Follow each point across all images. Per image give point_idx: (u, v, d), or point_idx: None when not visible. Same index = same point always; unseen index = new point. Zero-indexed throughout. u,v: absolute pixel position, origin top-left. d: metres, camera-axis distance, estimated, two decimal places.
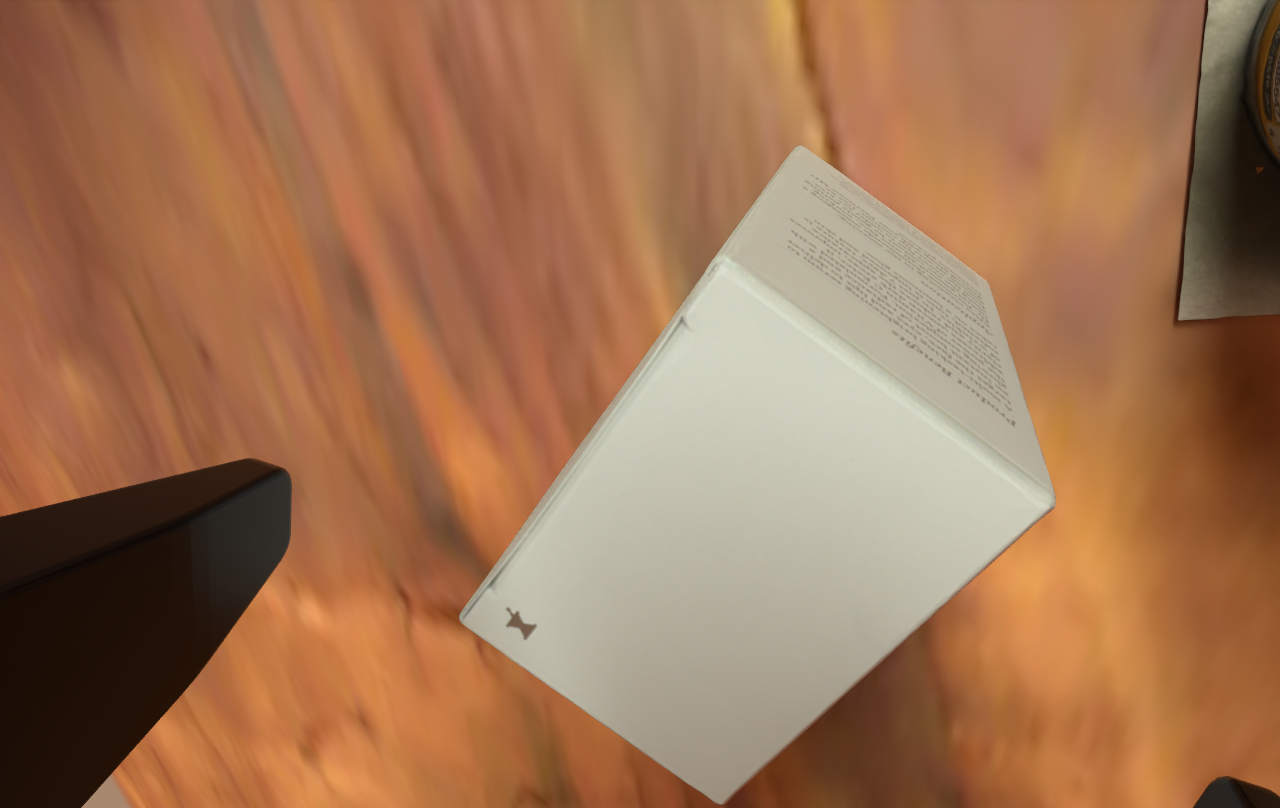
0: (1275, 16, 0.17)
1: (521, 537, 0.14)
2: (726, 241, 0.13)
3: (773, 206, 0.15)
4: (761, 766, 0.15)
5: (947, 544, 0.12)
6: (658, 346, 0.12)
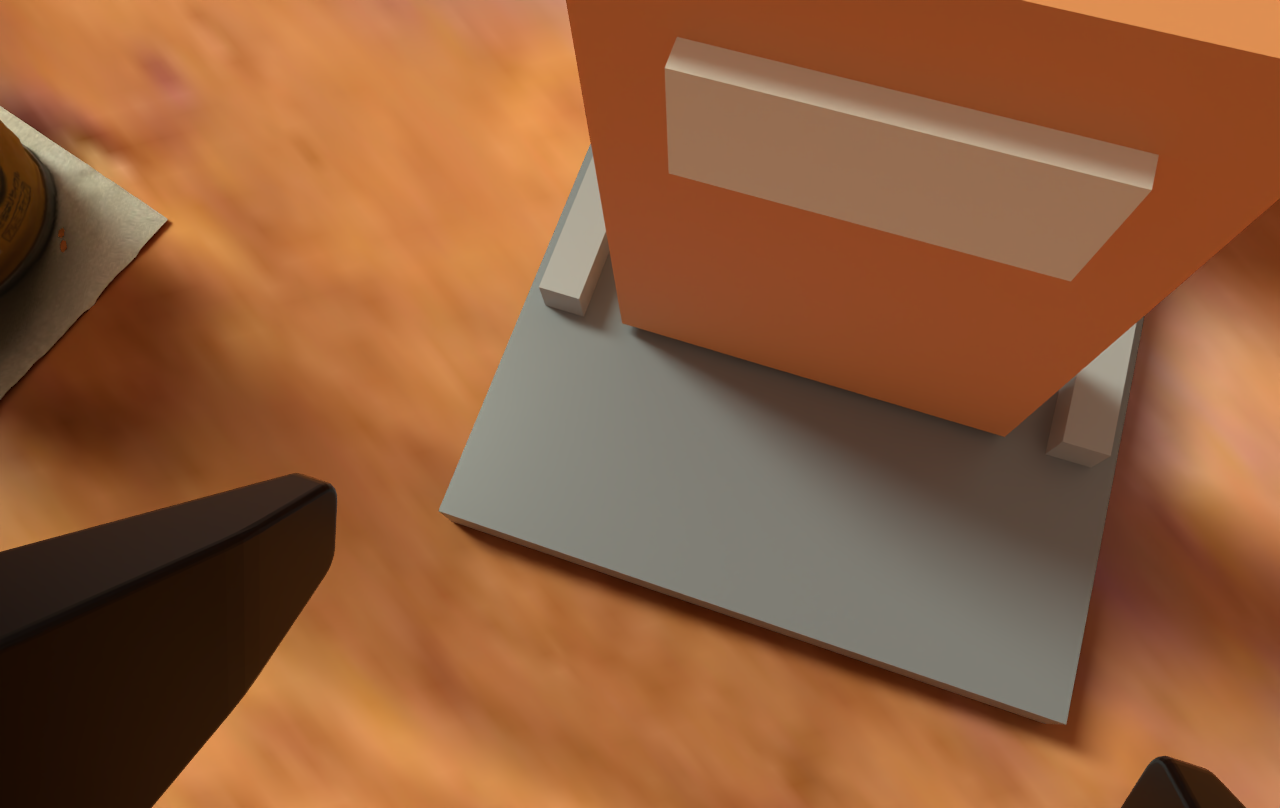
0: None
1: None
2: None
3: None
4: None
5: None
6: None
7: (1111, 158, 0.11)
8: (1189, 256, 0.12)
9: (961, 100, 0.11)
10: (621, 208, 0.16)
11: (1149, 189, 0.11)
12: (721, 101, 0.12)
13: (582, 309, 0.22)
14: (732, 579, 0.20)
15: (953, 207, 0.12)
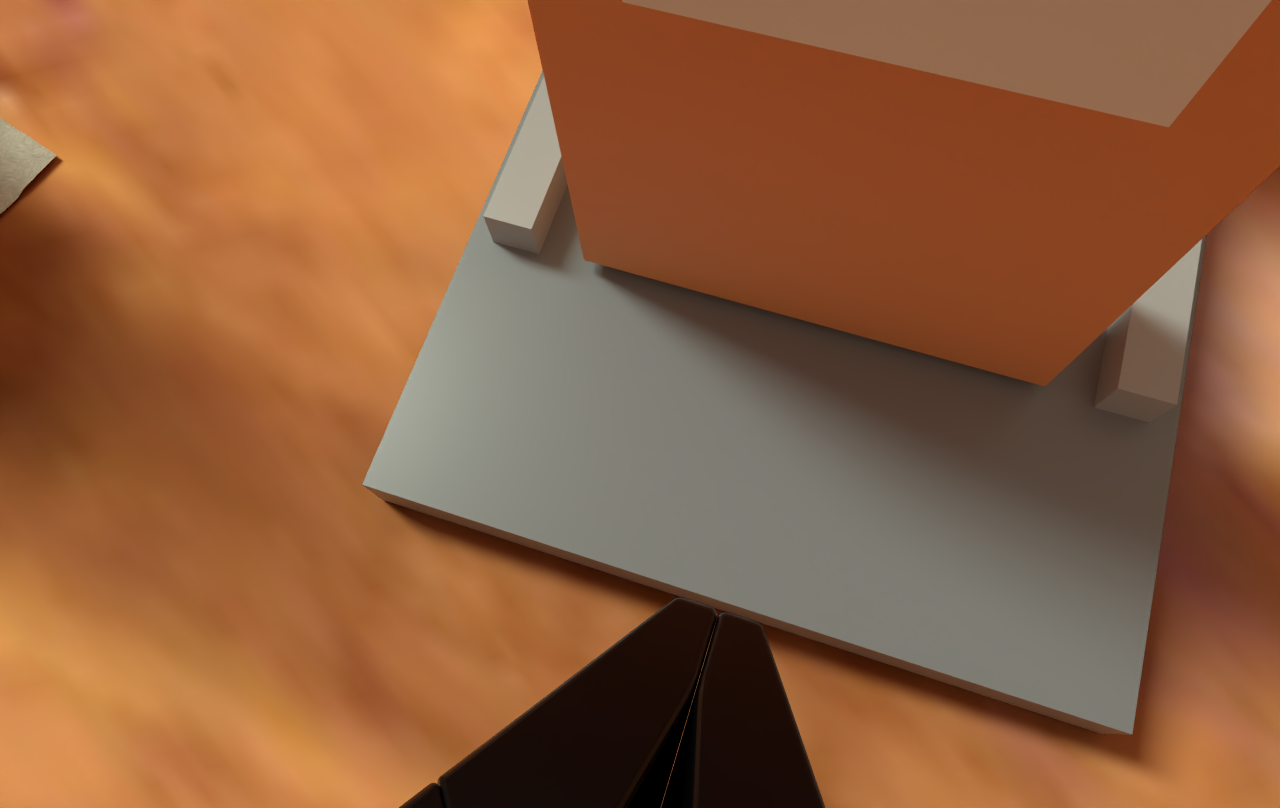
0: None
1: None
2: None
3: None
4: None
5: None
6: None
7: None
8: None
9: None
10: (569, 85, 0.13)
11: None
12: None
13: (536, 244, 0.18)
14: (718, 561, 0.16)
15: (1012, 13, 0.09)
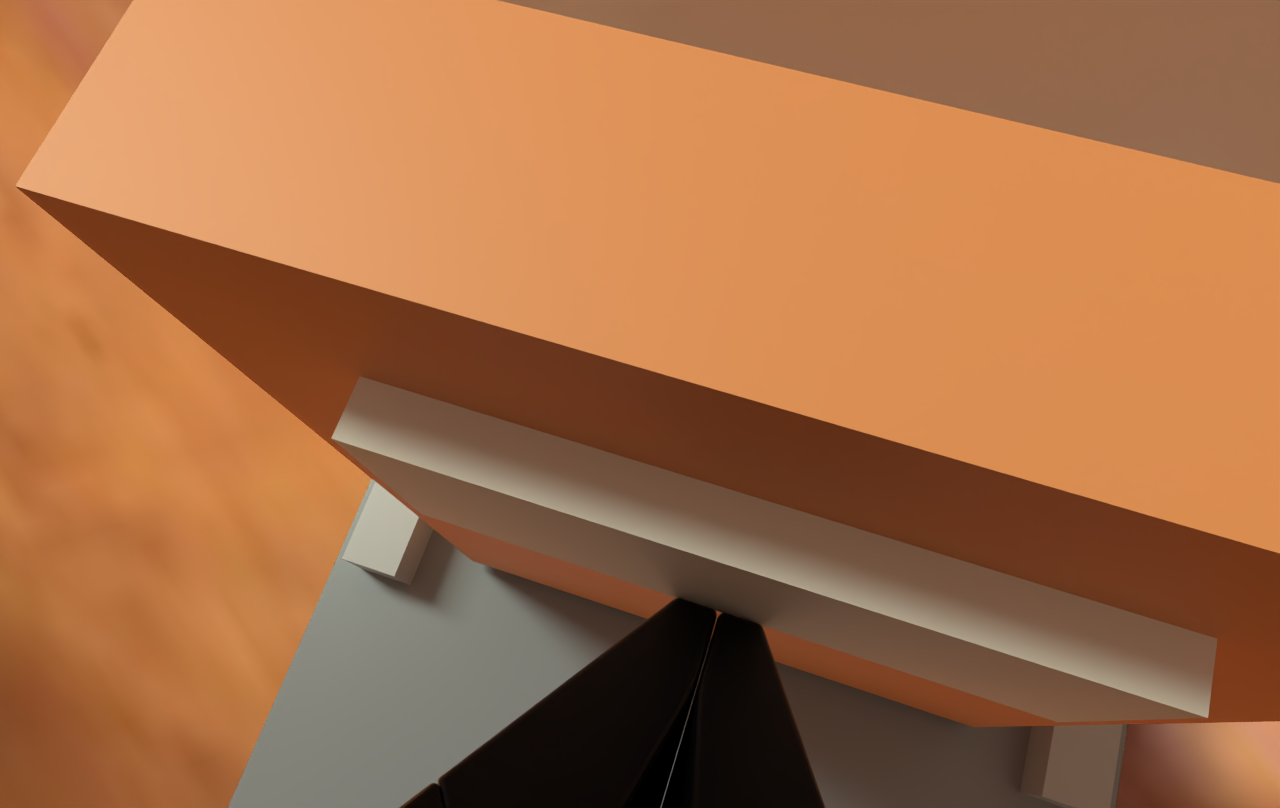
0: None
1: None
2: None
3: None
4: None
5: None
6: None
7: (1129, 645, 0.06)
8: (1256, 710, 0.07)
9: (853, 512, 0.06)
10: None
11: (1202, 717, 0.06)
12: (443, 482, 0.07)
13: (405, 580, 0.16)
14: None
15: (856, 639, 0.07)
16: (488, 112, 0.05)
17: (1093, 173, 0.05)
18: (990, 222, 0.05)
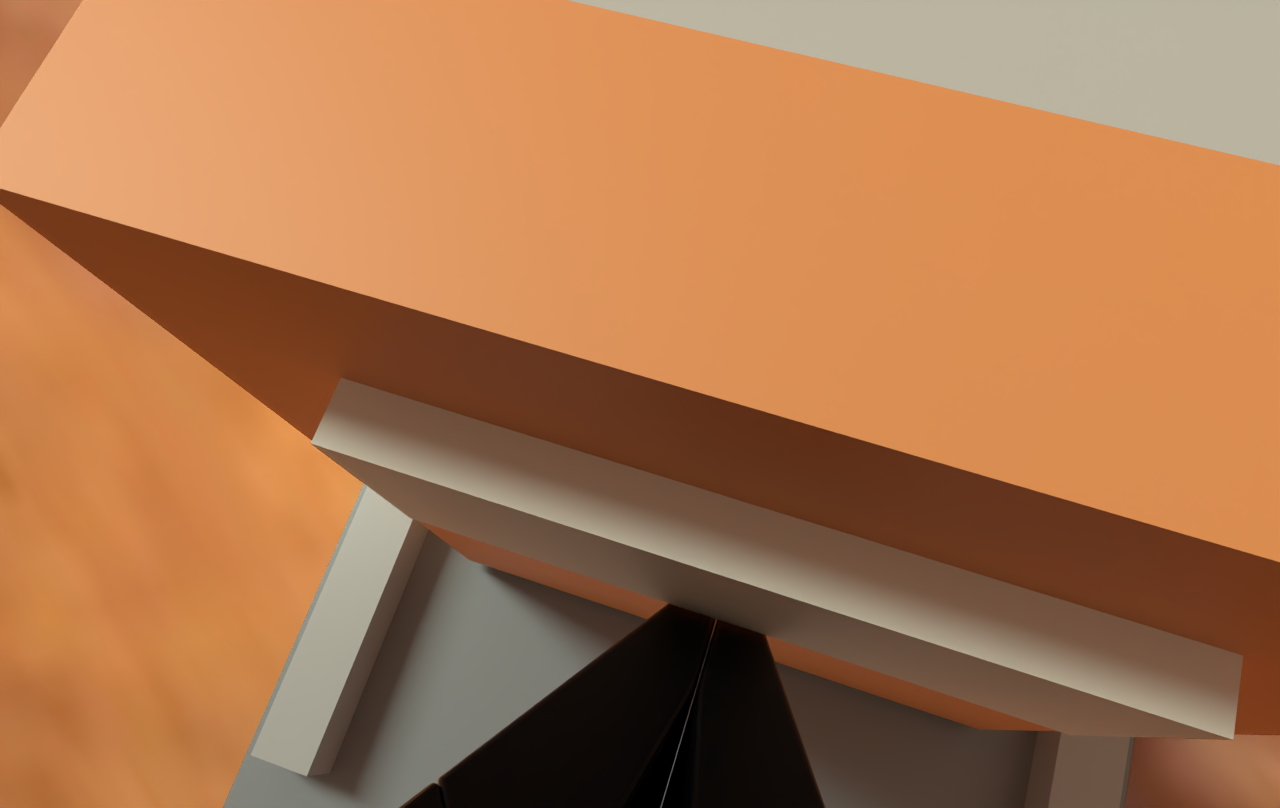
0: None
1: None
2: None
3: None
4: None
5: None
6: None
7: (1150, 662, 0.05)
8: (1278, 724, 0.07)
9: (858, 522, 0.06)
10: None
11: (1227, 736, 0.05)
12: (429, 489, 0.06)
13: (322, 772, 0.15)
14: None
15: (862, 650, 0.07)
16: (471, 99, 0.05)
17: (1117, 163, 0.05)
18: (1008, 215, 0.05)
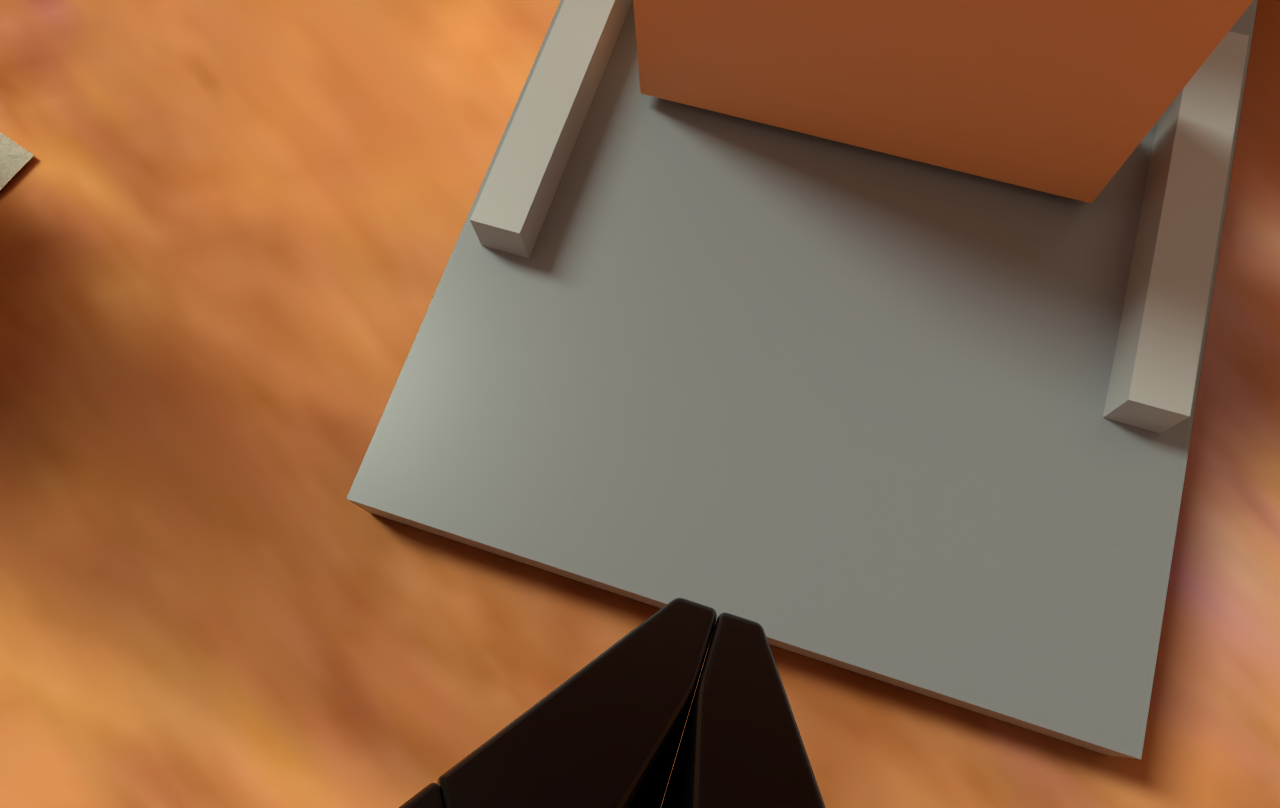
0: None
1: None
2: None
3: None
4: None
5: None
6: None
7: None
8: None
9: None
10: None
11: None
12: None
13: (525, 248, 0.18)
14: (713, 579, 0.16)
15: None
16: None
17: None
18: None
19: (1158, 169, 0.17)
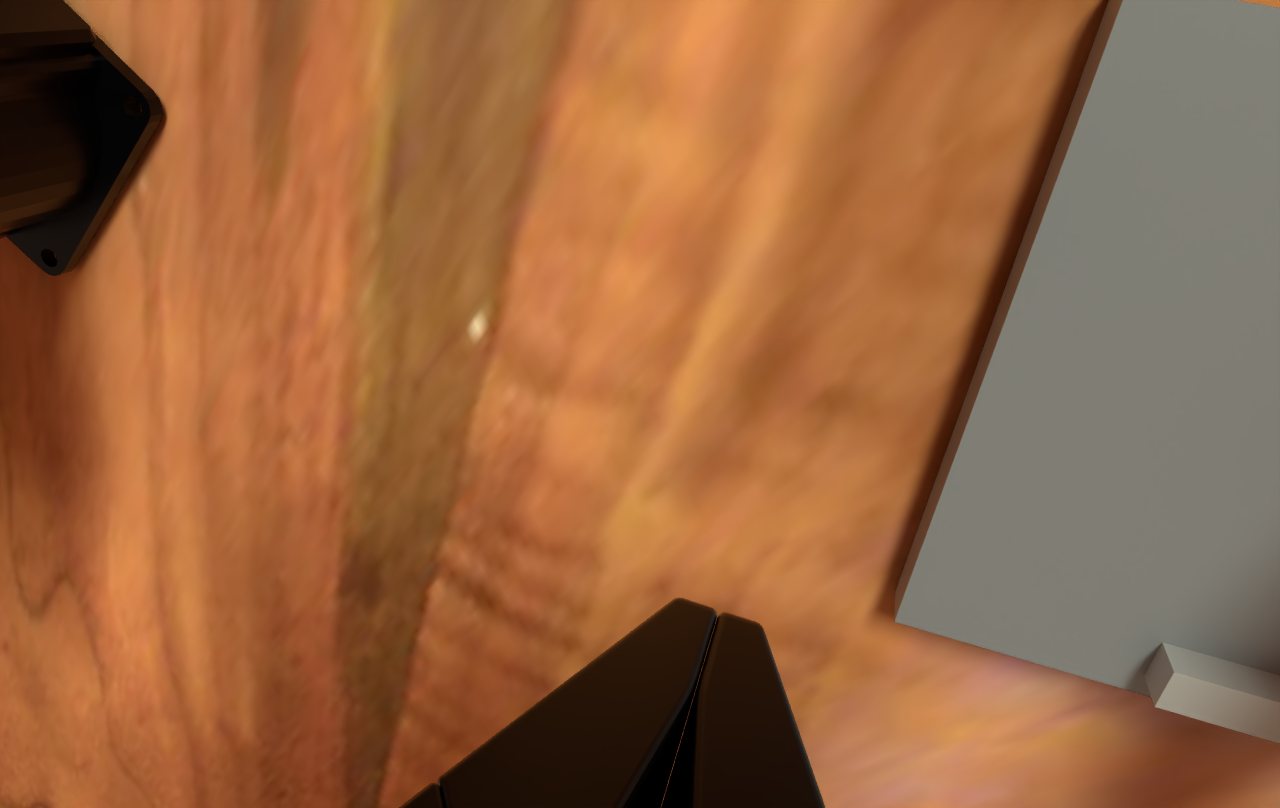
0: None
1: None
2: None
3: None
4: None
5: None
6: None
7: None
8: None
9: None
10: None
11: None
12: None
13: None
14: (1029, 351, 0.18)
15: None
16: None
17: None
18: None
19: None
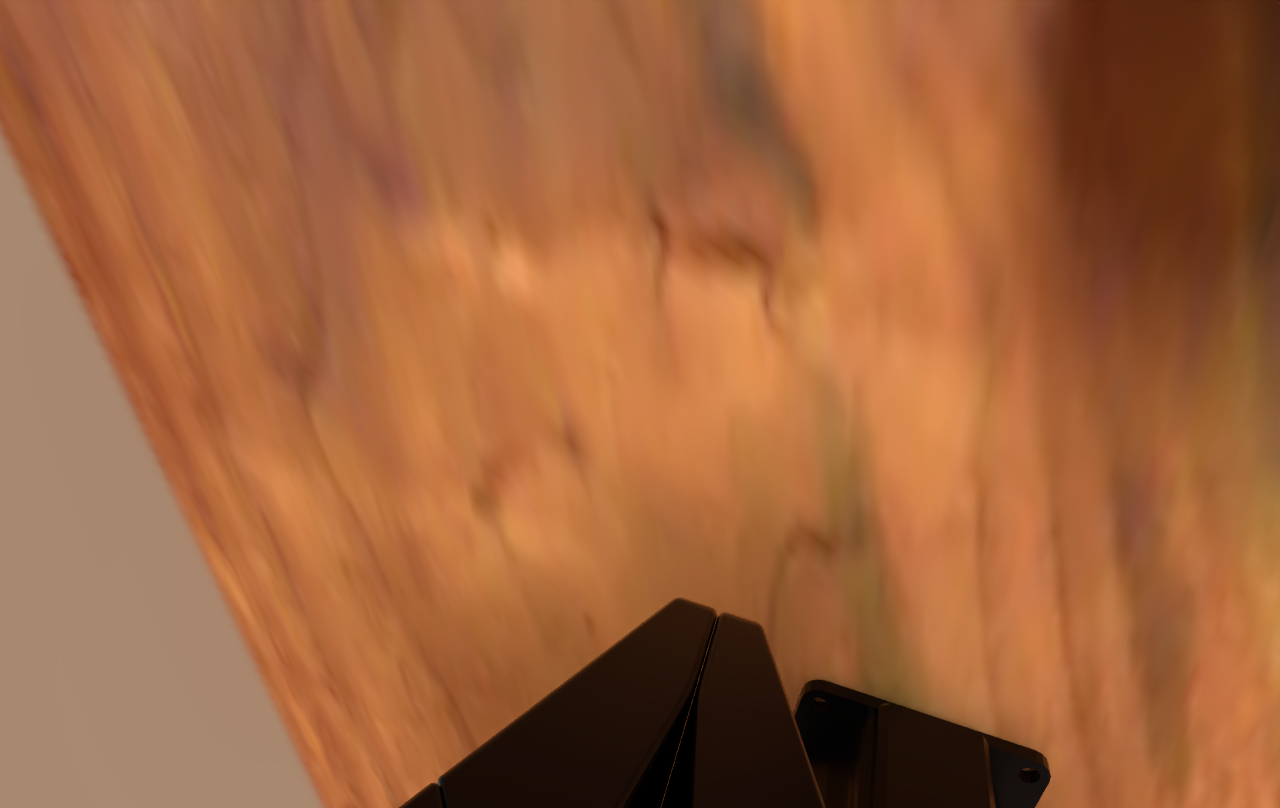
0: None
1: None
2: None
3: None
4: None
5: None
6: None
7: None
8: None
9: None
10: None
11: None
12: None
13: None
14: None
15: None
16: None
17: None
18: None
19: None
